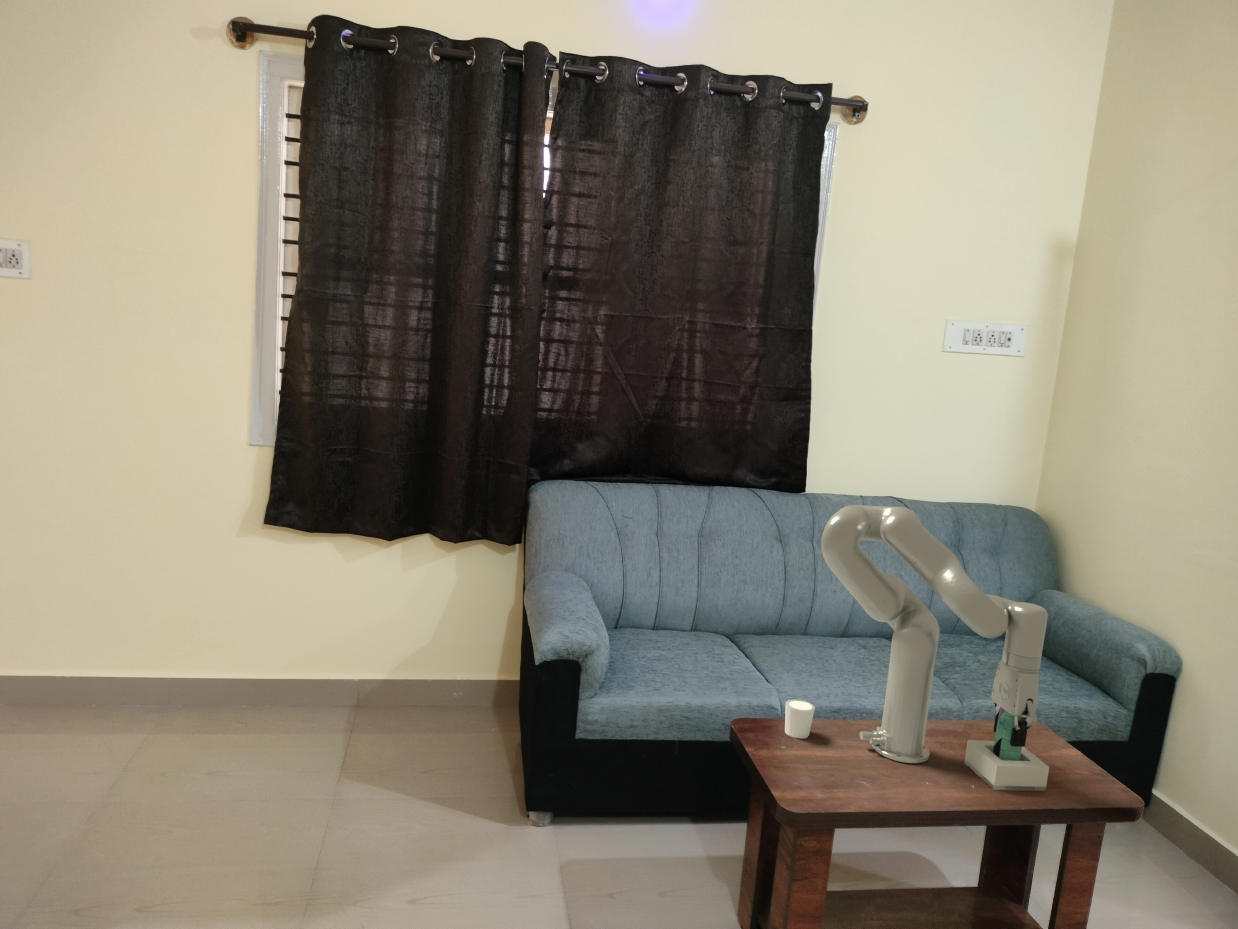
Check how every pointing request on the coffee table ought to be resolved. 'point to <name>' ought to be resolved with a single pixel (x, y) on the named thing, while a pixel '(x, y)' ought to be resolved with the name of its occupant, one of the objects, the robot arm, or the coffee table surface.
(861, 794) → the coffee table surface
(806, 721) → the white cup
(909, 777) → the coffee table surface
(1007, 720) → the spray can
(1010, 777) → the can holder
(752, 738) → the coffee table surface
